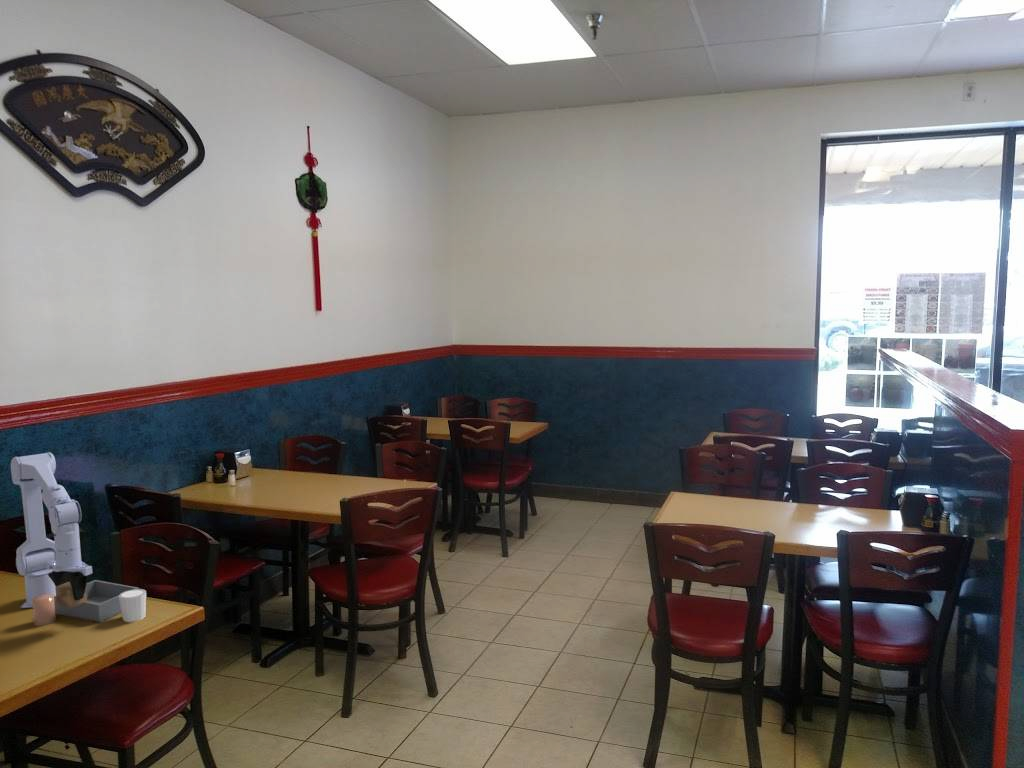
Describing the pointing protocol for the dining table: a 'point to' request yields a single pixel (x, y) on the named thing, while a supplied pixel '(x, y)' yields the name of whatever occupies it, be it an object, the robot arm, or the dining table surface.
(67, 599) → the walnut cube
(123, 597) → the white cylinder
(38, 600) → the terracotta cylinder
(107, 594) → the tote
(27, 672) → the dining table surface
